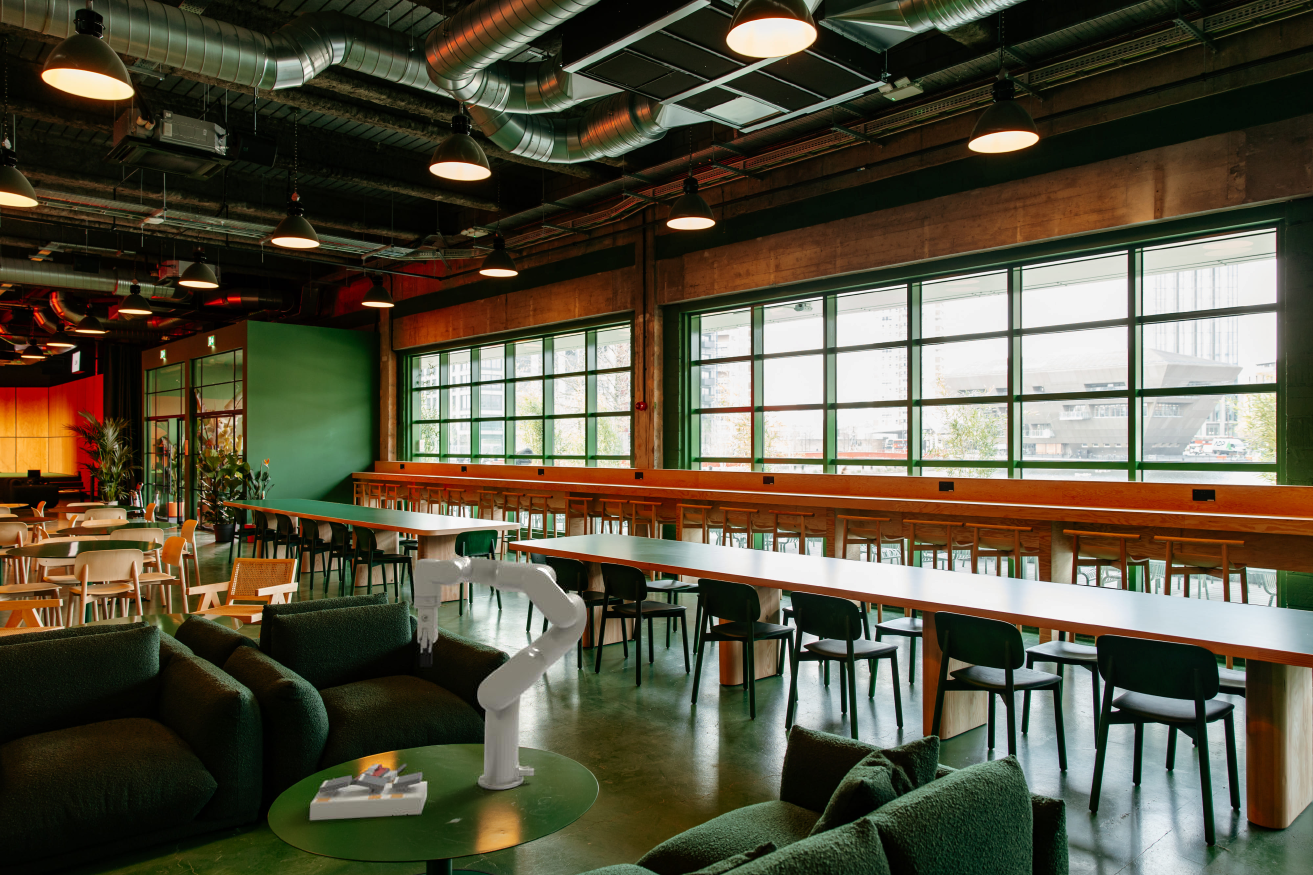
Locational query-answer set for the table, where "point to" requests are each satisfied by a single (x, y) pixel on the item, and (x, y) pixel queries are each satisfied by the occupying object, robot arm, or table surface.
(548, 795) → the table surface
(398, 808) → the switch unit
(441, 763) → the table surface
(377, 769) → the walkie-talkie
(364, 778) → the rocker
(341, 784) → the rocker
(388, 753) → the table surface
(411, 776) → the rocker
